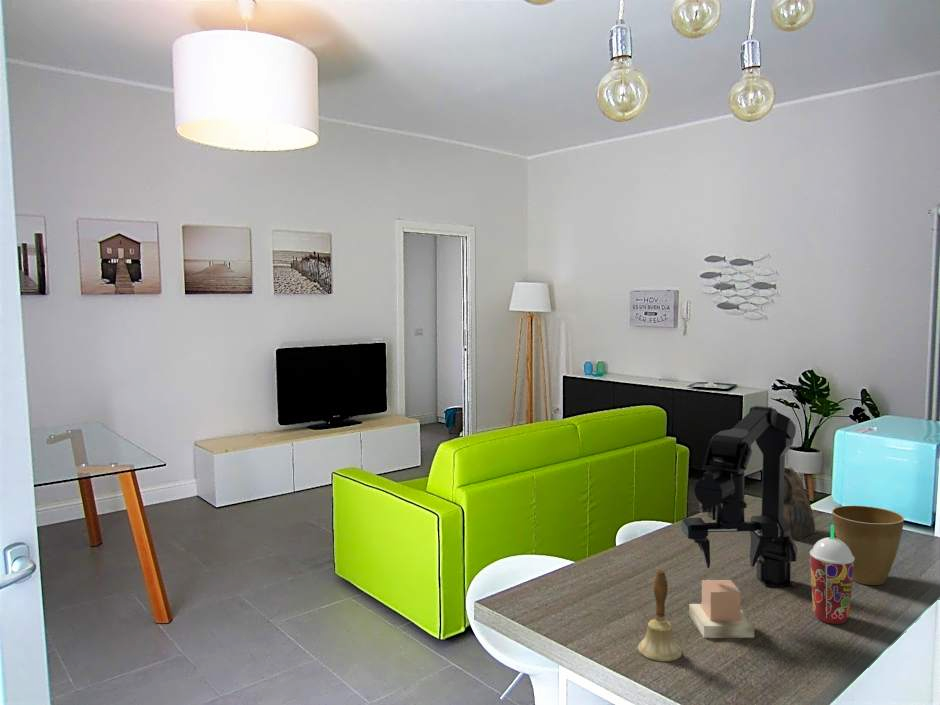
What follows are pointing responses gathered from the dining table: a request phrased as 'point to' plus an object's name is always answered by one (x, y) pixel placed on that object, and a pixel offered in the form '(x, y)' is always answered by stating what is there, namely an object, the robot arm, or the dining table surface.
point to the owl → (797, 506)
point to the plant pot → (869, 540)
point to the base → (720, 625)
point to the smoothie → (831, 579)
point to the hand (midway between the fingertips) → (729, 566)
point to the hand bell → (660, 628)
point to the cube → (721, 600)
